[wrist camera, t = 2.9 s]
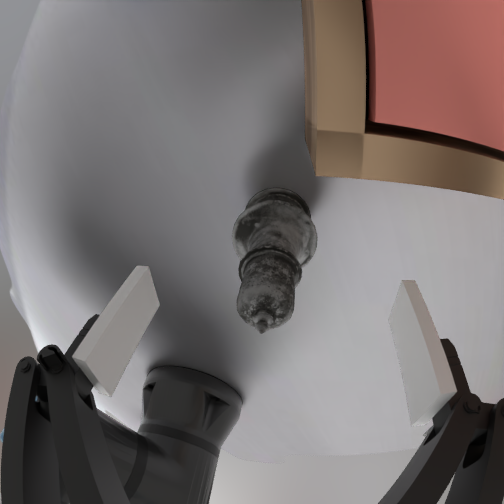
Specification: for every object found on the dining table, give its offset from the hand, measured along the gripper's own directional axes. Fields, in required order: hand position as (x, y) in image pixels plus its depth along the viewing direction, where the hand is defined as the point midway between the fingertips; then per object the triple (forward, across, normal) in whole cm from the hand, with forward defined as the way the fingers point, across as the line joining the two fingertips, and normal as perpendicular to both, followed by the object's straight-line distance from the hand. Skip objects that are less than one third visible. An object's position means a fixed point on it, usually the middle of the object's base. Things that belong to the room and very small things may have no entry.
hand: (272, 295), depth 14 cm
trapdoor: (0, +11, +16) cm, 19 cm away
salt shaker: (+10, 0, 0) cm, 10 cm away
